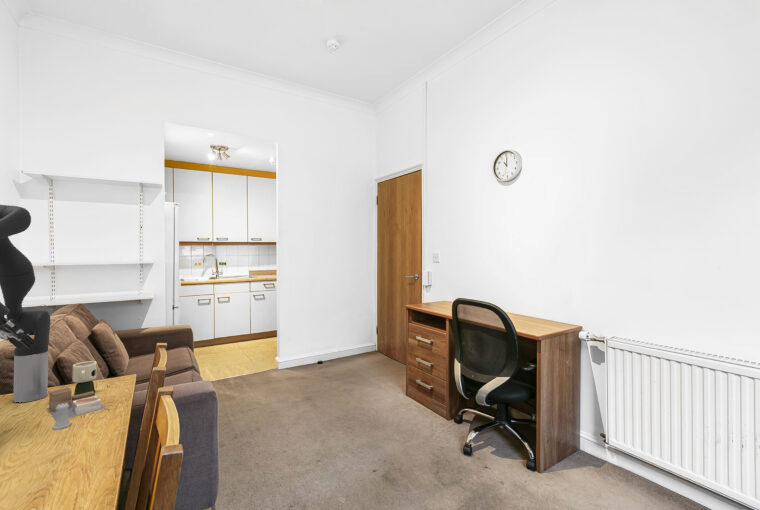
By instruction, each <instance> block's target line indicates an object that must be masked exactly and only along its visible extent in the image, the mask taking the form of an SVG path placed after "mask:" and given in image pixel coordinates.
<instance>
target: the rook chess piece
mask: <svg viewBox="0 0 760 510" xmlns="http://www.w3.org/2000/svg"><path fill="white" fill-rule="evenodd" d="M68 407H69V405H68V403H65V404H63V403H61V405H60V404H58V405H57V407H56V409H55V410H57V413H56V414H57V420H56V421H55V422H54V425H53V426H52V430H63V429H66V428H69V427H70V426H71V425H72V422H71V421H70V419H69V418H68V415H67V412H68V410H67V409H68Z"/></svg>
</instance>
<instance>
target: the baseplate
mask: <svg viewBox="0 0 760 510" xmlns="http://www.w3.org/2000/svg"><path fill="white" fill-rule="evenodd" d="M104 409H107V407H106V406H105V405H103V404H102V403H101V409H98V410H94V411H90V412H86V413H83V414H79V415H76V413H75V412H74V411H73V410H72V401H71V408H68V409H67V410H68V412H67V415H68V419H71V418H75V417H77V416H82V415H86V414H89V413H90V414H91V413H93V412H98V411H100V410H104ZM46 410H47V412H48V413H49V414H50V415H51V417H52V418H53V420H54V421H55V422H56V420H57V414H56V413H57V411H56V412H51V410H50V409H49V407H47V408H46Z"/></svg>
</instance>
